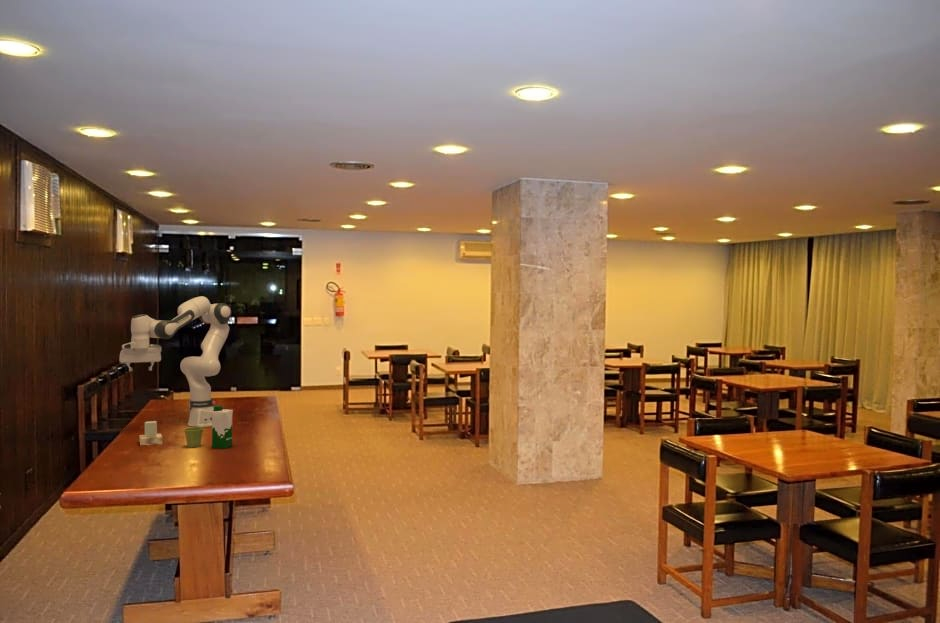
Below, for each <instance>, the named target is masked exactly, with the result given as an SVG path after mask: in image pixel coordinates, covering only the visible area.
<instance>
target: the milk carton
mask: <svg viewBox="0 0 940 623" xmlns="http://www.w3.org/2000/svg"><path fill="white" fill-rule="evenodd" d="M233 413H234V409H228V408H227V409H224V408H223V405H214V410H213V411H211V417H212V426H211V449H220V450H221V449H224V450H225V449H228V448H230V446H231V447H233Z"/></svg>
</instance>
